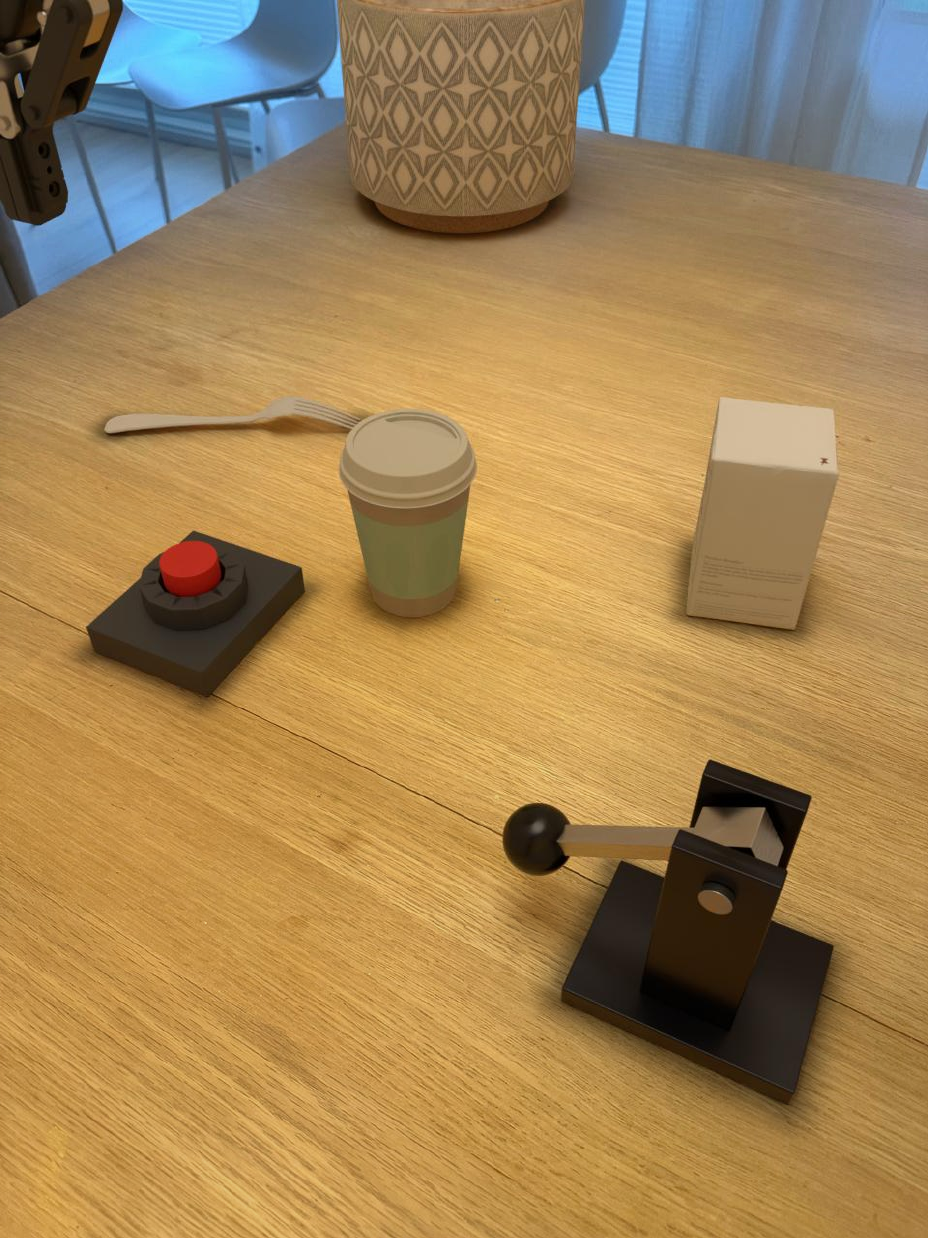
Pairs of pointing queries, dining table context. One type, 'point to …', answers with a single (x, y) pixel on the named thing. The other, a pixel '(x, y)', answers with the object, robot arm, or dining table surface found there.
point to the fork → (272, 410)
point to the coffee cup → (409, 505)
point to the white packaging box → (762, 511)
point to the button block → (198, 618)
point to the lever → (628, 837)
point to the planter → (461, 107)
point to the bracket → (709, 948)
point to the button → (190, 569)
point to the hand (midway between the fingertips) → (39, 216)
